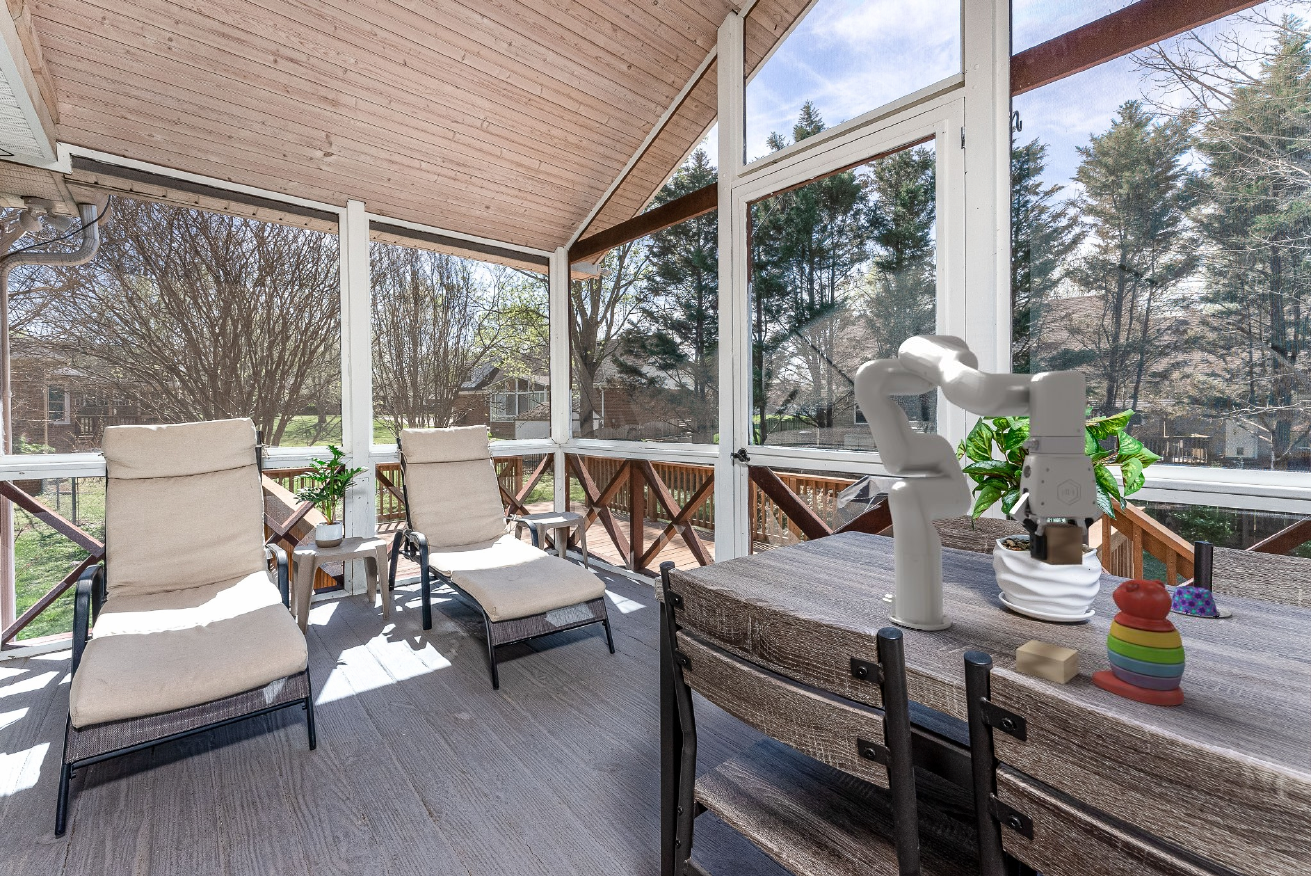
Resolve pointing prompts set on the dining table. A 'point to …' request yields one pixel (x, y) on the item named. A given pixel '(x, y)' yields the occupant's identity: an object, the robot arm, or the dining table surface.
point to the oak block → (1047, 661)
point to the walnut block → (1063, 544)
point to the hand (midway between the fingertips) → (1055, 556)
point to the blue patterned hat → (1195, 601)
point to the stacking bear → (1144, 646)
